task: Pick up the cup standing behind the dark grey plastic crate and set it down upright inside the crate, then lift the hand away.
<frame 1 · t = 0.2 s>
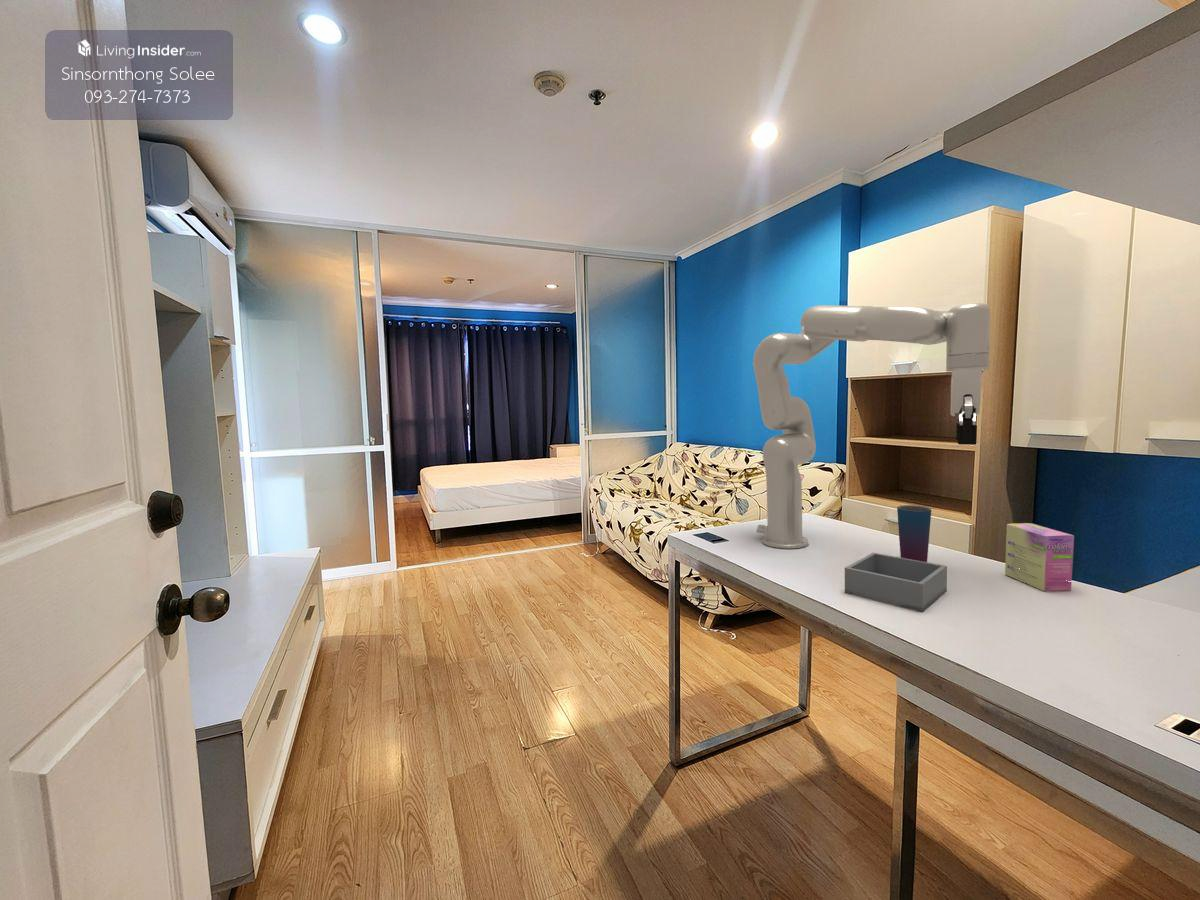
hand: (965, 442, 109), 30 cm above the table, tool pointing down, fingers open, 9 cm apart
cup: (913, 571, 118), on the table
crate: (895, 592, 106), on the table
box: (1037, 583, 107), on the table
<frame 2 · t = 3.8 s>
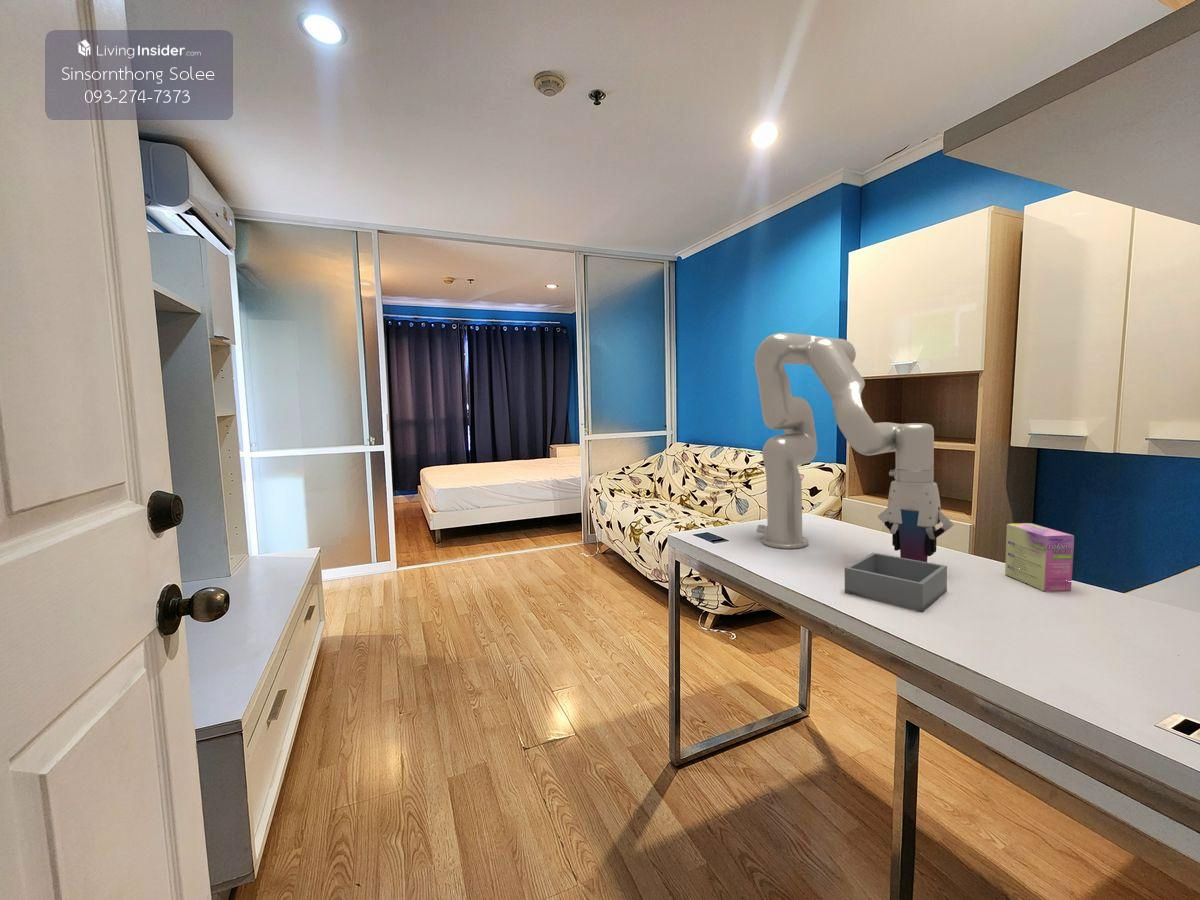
hand: (913, 551, 118), 5 cm above the table, tool pointing down, fingers closed on cup, 6 cm apart
cup: (913, 571, 118), on the table, touching gripper
everything else where it was.
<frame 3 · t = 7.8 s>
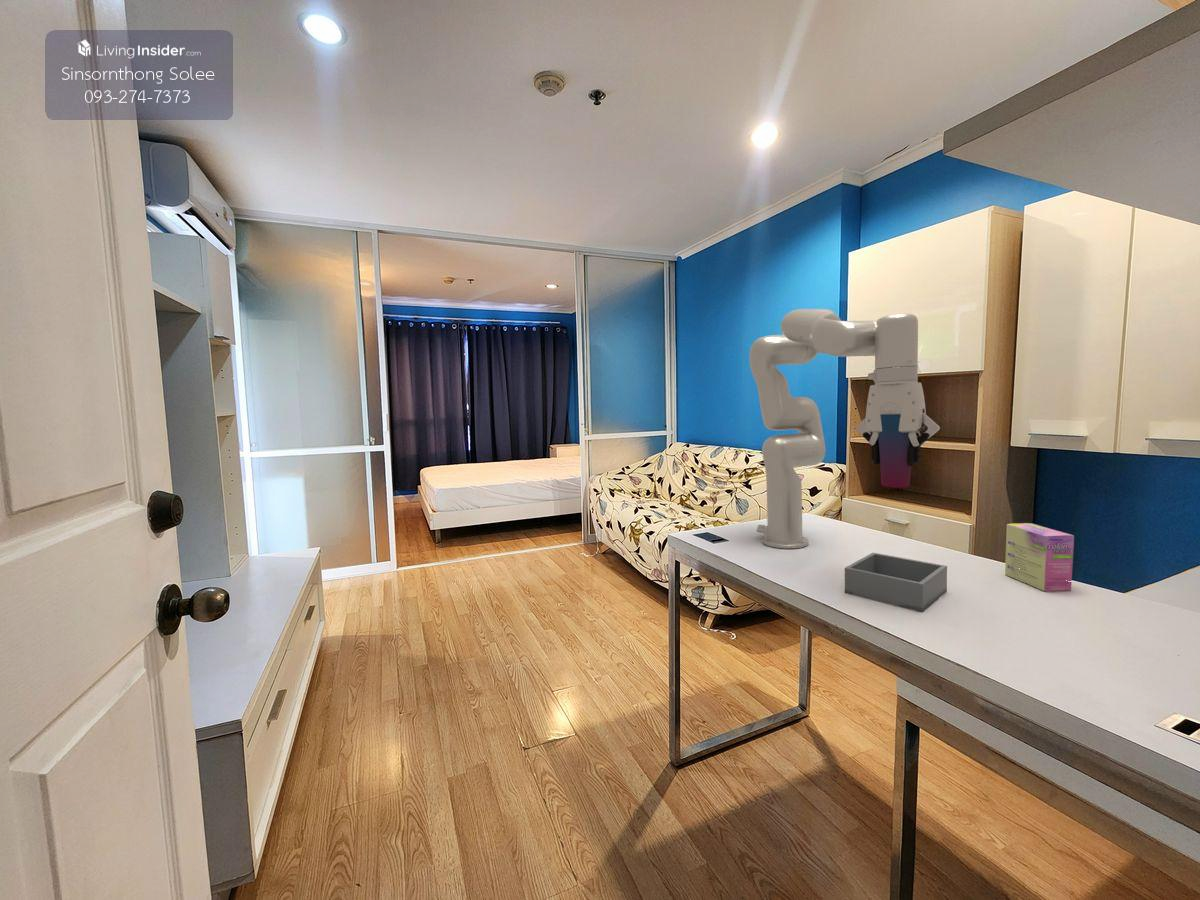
hand: (895, 463, 104), 27 cm above the table, tool pointing down, fingers closed on cup, 6 cm apart
cup: (895, 486, 104), point 23 cm above the table, touching gripper
everything else where it was.
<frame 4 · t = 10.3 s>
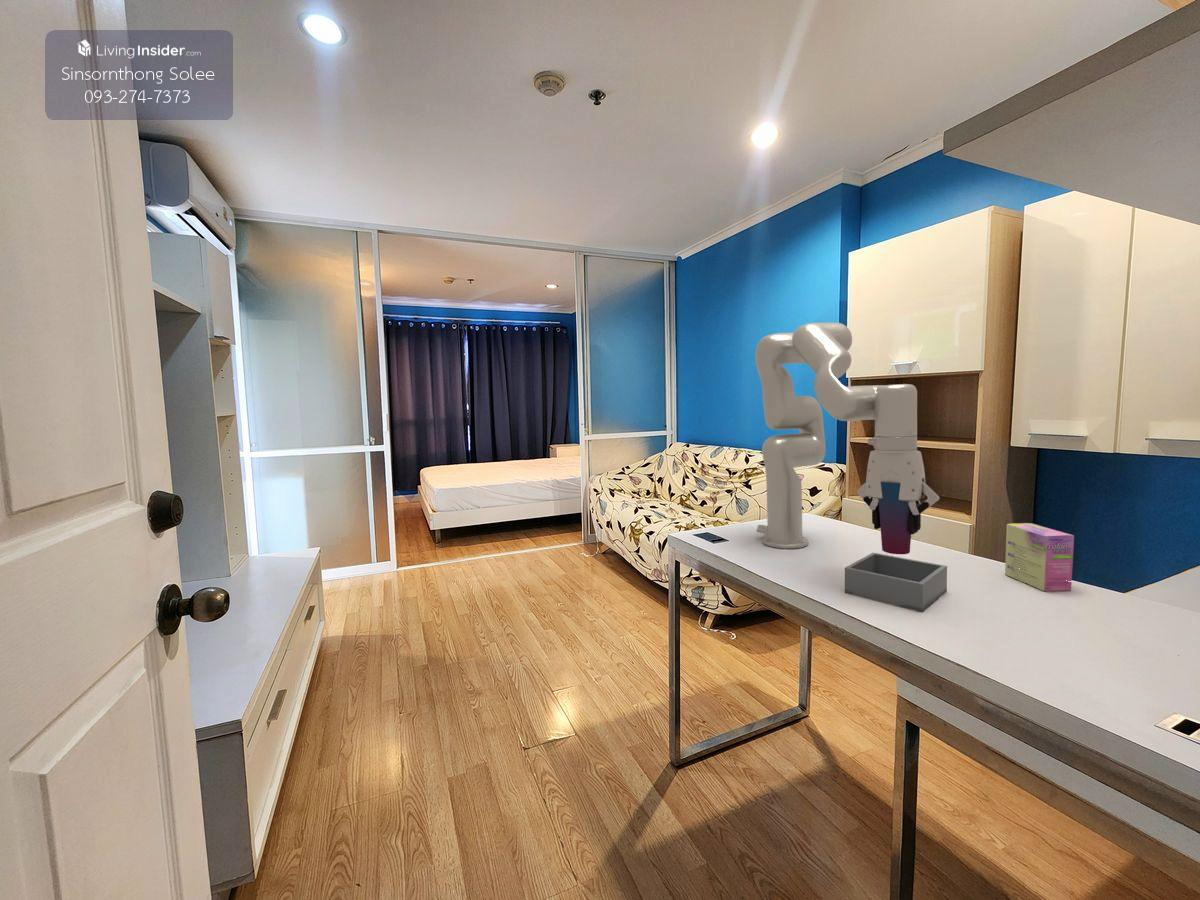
hand: (895, 529, 105), 14 cm above the table, tool pointing down, fingers closed on cup, 6 cm apart
cup: (895, 551, 105), point 9 cm above the table, touching gripper
everything else where it was.
when the fingers open (7 cm above the table, at t = 12.1 s): cup drops 2 cm, resting on crate.
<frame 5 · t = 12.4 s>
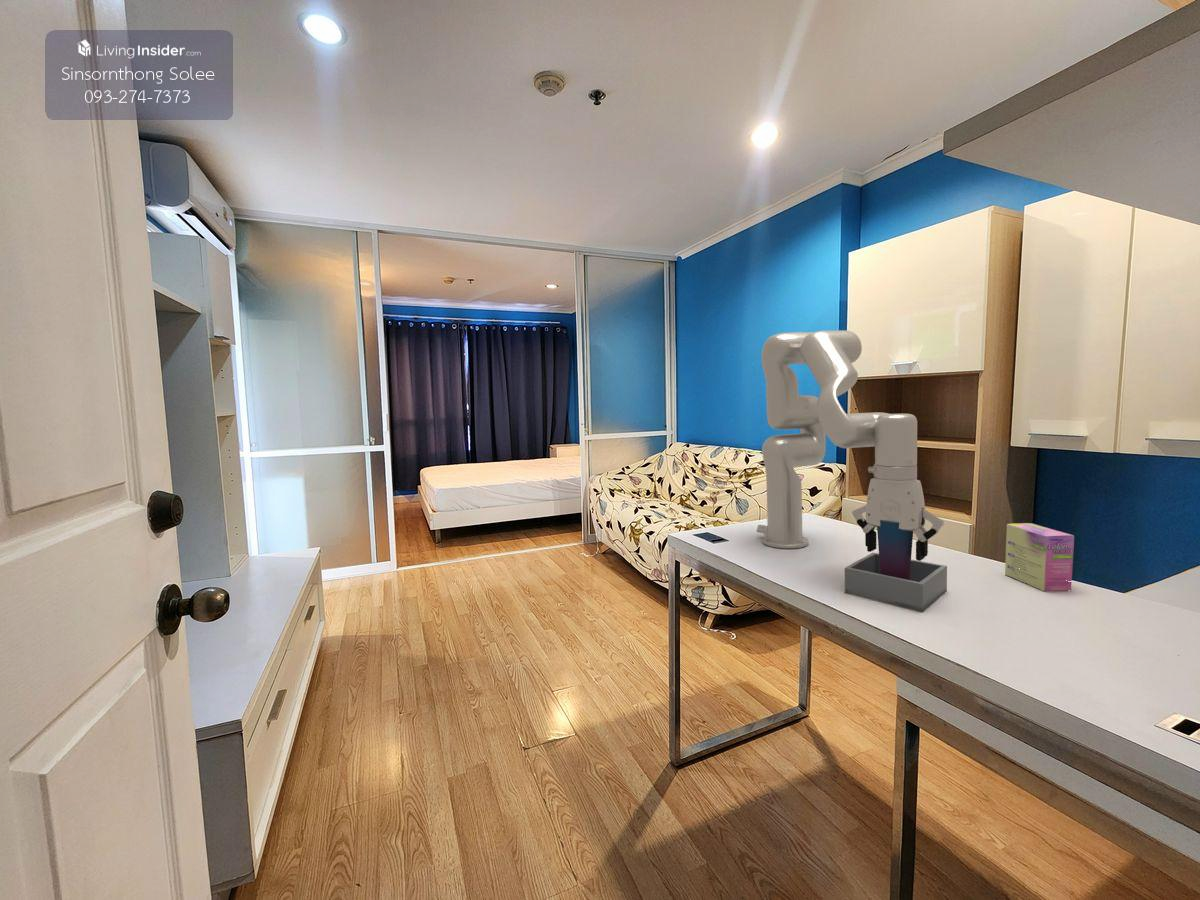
hand: (895, 554, 105), 8 cm above the table, tool pointing down, fingers open, 9 cm apart
cup: (894, 589, 106), point 1 cm above the table, touching crate
everything else where it was.
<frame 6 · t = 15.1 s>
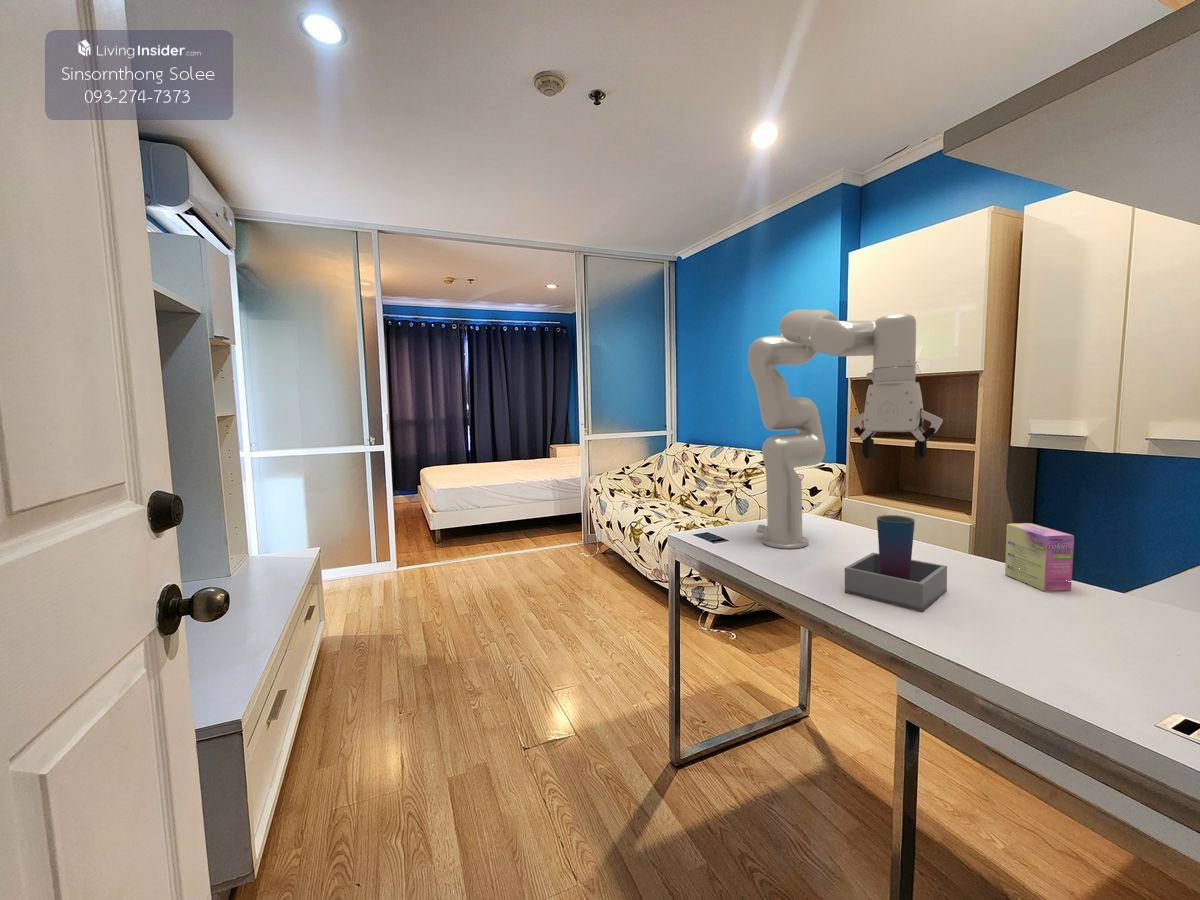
hand: (893, 459, 105), 28 cm above the table, tool pointing down, fingers open, 9 cm apart
nothing on the table moved.
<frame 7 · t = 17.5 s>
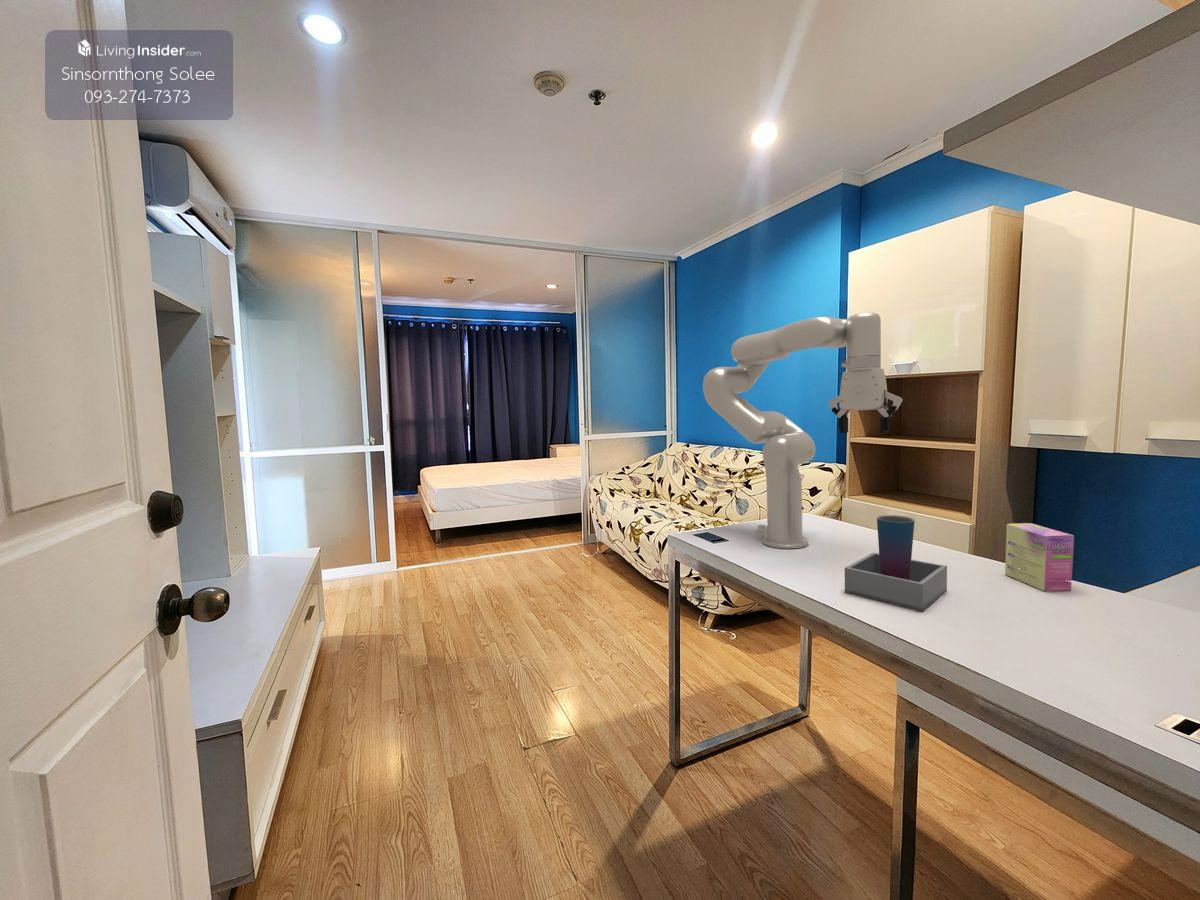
hand: (863, 433, 126), 32 cm above the table, tool pointing down, fingers open, 9 cm apart
nothing on the table moved.
at the end: cup inside the target area on the crate (0.1 cm from its centre), point 0.6 cm above the crate's base; cup tilted 0°; the gripper is holding nothing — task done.
